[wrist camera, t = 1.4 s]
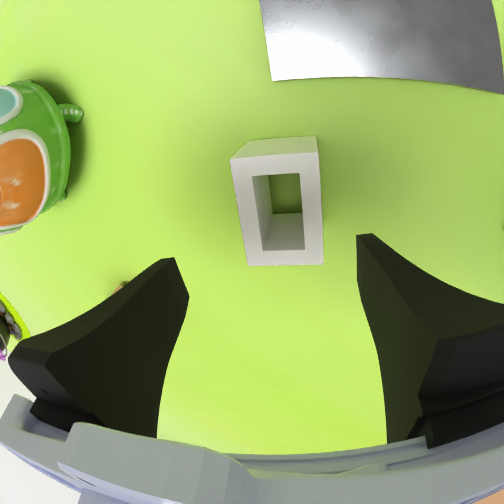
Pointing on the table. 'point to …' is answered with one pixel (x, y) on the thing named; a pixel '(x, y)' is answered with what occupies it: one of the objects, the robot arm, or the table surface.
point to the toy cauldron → (10, 325)
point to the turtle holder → (32, 152)
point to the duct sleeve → (260, 206)
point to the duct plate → (385, 40)
